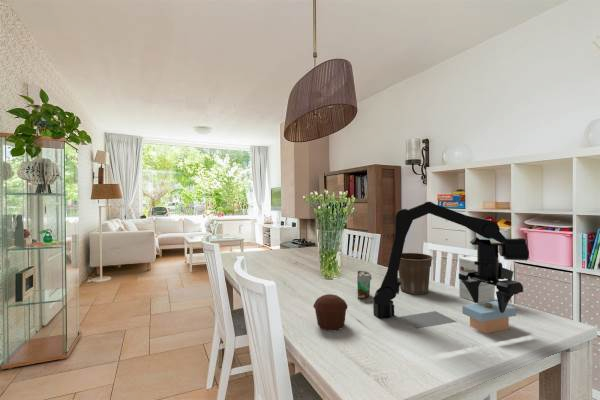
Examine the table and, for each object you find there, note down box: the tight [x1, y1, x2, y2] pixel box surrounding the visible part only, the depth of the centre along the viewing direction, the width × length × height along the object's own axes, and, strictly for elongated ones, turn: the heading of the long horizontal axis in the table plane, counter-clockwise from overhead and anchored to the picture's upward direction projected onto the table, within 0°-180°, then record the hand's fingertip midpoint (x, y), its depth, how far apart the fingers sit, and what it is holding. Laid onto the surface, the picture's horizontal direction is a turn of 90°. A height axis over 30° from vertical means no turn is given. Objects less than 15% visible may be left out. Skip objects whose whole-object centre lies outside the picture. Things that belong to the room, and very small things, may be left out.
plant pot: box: [398, 252, 434, 295], centre depth 139 cm, size 16×16×16 cm
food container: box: [356, 269, 373, 300], centre depth 133 cm, size 12×6×10 cm, turn 168°
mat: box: [398, 310, 457, 329], centre depth 104 cm, size 16×10×1 cm, turn 107°
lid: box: [461, 300, 517, 322], centre depth 97 cm, size 14×7×4 cm, turn 107°
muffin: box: [313, 293, 348, 331], centre depth 103 cm, size 12×11×10 cm
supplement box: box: [458, 255, 495, 304], centre depth 127 cm, size 10×9×17 cm
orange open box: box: [469, 317, 510, 334], centre depth 97 cm, size 10×6×5 cm, turn 107°
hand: (488, 307), depth 97 cm, fingers open, 9 cm apart
